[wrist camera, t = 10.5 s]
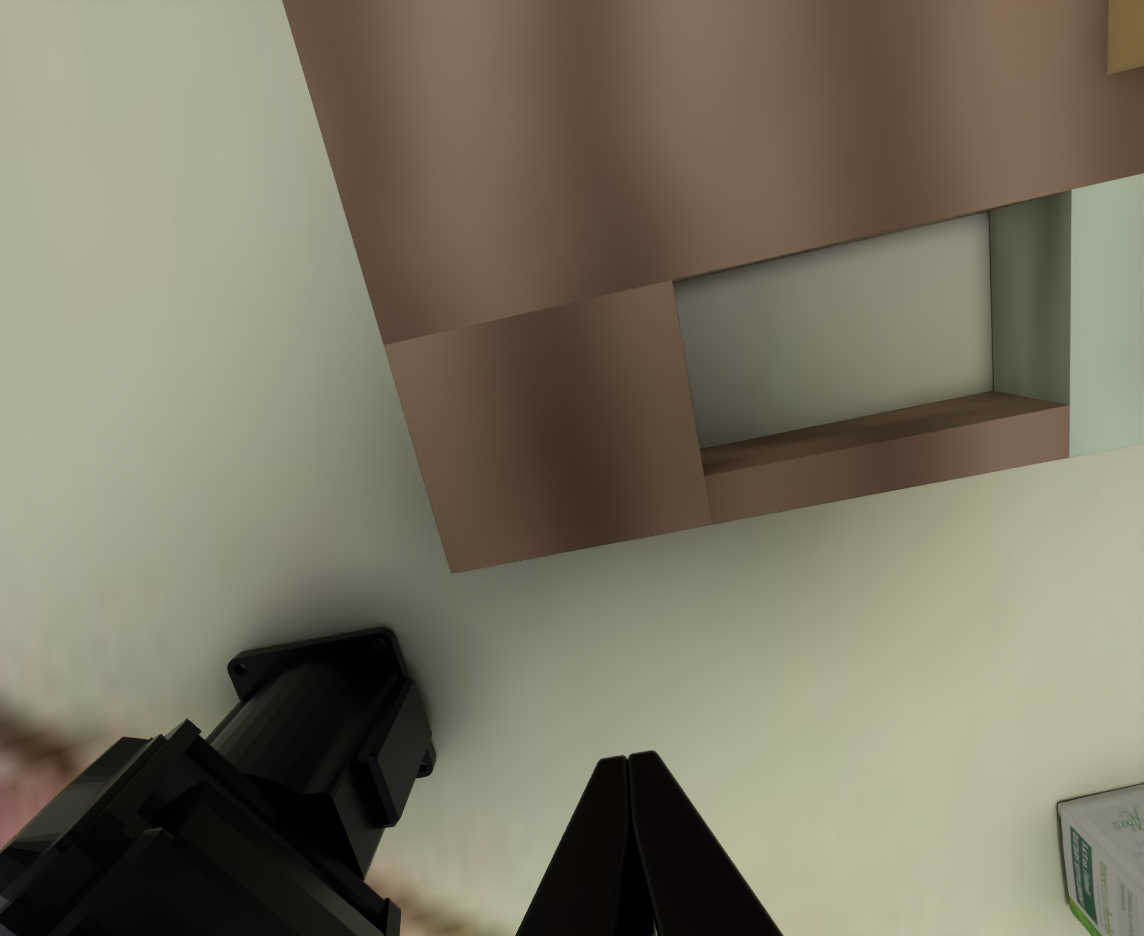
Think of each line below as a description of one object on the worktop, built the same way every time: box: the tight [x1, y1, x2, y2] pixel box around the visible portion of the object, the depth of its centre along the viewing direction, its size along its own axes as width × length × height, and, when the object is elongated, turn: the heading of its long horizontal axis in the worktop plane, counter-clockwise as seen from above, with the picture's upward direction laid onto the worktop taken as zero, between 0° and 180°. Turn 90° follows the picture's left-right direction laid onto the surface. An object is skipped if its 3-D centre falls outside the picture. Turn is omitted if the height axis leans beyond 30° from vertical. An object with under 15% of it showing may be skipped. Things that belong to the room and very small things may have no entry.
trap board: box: [282, 0, 1144, 574], centre depth 15 cm, size 26×24×3 cm
